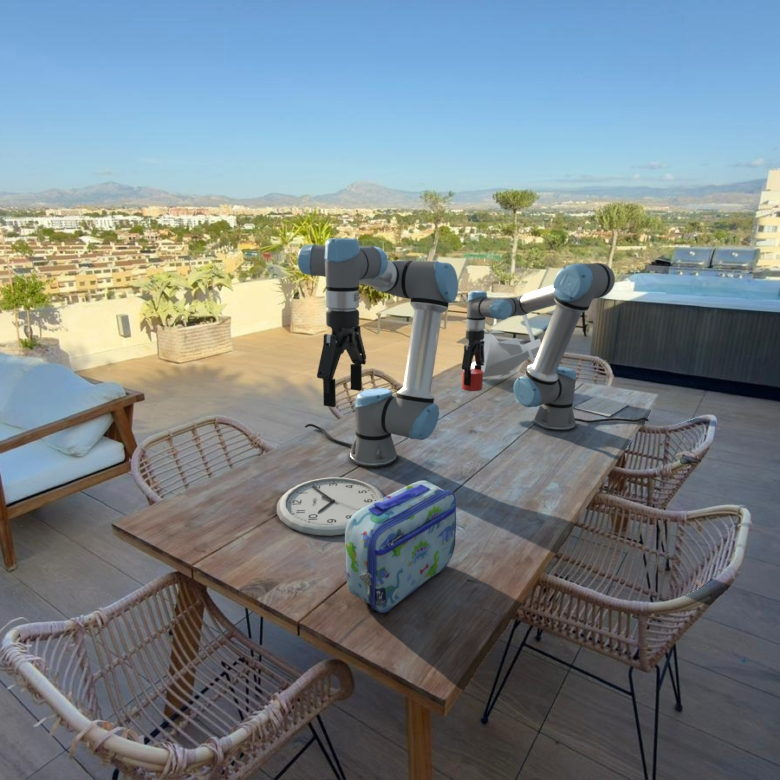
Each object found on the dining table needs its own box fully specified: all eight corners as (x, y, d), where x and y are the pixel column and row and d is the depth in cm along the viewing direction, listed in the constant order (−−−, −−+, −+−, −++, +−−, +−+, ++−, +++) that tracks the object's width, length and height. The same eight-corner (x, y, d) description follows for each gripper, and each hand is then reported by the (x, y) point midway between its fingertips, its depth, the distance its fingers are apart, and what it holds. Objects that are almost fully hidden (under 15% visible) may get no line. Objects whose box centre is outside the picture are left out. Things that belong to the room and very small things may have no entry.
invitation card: (608, 416, 214) (573, 407, 224) (608, 416, 214) (573, 408, 224) (628, 404, 229) (594, 396, 238) (628, 405, 229) (594, 397, 238)
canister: (458, 386, 224) (459, 369, 221) (476, 384, 226) (477, 368, 224) (467, 391, 216) (468, 374, 214) (485, 390, 218) (486, 372, 216)
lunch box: (374, 626, 100) (375, 530, 93) (338, 598, 107) (337, 508, 101) (459, 568, 117) (465, 484, 111) (424, 547, 124) (427, 467, 118)
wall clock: (392, 527, 129) (268, 531, 127) (391, 533, 130) (269, 537, 127) (383, 473, 158) (282, 475, 155) (383, 478, 158) (282, 480, 156)
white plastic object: (490, 419, 265) (470, 397, 240) (471, 347, 287) (451, 319, 262) (561, 395, 253) (548, 369, 228) (536, 321, 275) (521, 290, 250)
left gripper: (330, 318, 106) (332, 416, 113) (379, 303, 128) (378, 385, 135) (298, 315, 109) (302, 411, 115) (352, 301, 131) (352, 382, 137)
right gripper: (478, 324, 224) (475, 375, 231) (454, 332, 207) (451, 386, 214) (494, 326, 220) (491, 378, 226) (471, 334, 203) (468, 389, 210)
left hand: (343, 397), depth 125 cm, fingers open, 13 cm apart
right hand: (472, 382), depth 220 cm, fingers closed on canister, 8 cm apart
